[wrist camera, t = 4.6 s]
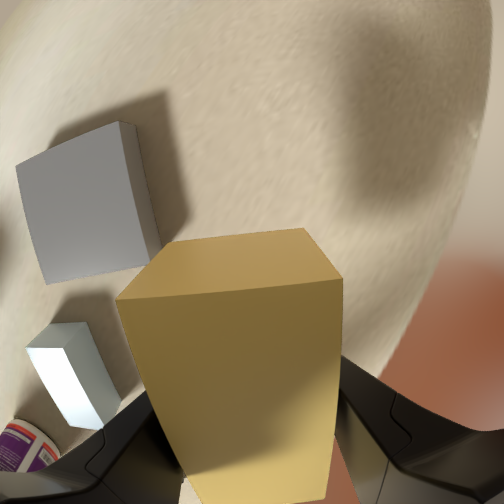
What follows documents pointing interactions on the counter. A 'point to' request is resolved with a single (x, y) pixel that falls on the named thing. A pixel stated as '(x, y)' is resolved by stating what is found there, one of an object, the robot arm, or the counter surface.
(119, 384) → the counter surface
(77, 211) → the base slab
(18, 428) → the pill bottle
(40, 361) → the blue brick
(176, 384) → the ochre brick
